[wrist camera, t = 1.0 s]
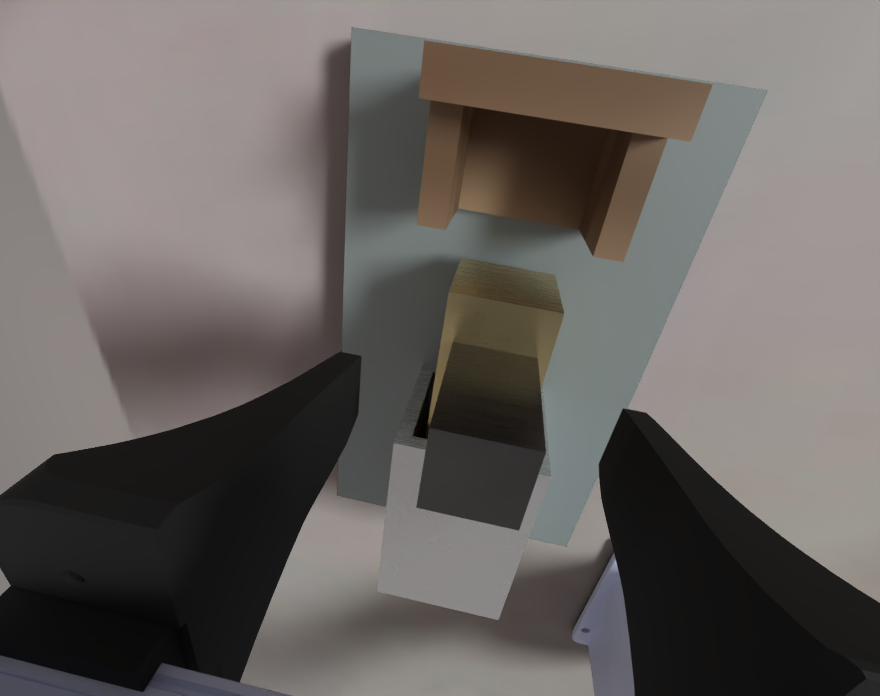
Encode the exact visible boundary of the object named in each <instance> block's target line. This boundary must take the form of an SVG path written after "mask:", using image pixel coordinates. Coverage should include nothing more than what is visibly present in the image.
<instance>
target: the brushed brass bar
mask: <svg viewBox="0 0 880 696" xmlns="http://www.w3.org/2000/svg"><path fill="white" fill-rule="evenodd" d="M563 317H564V310H563V305H562V301H561V297H560V293H559V288H558V284H557V280H556V276H555V275H553V274H547V273H542V272H536V271H531V270H525V269H520V268H515V267H509V266H504V265H498V264H493V263H487V262H482V261H477V260H471V259H466V258H461V260H460V263H459V266H458V268H457V271H456V274H455V276H454V279H453V282H452V284H451V287H450V290H449V293H448V300H447V306H446V312H445V318H444V325H443V331H442V337H441V343H440V350H439V356H438V362H437V368H436V375H435V381H434V387H433V393H432V400H431V406H430V412H429V418H428V425H427V431H426V437H425V439H427V445H426V451H425V457H424V463H423V469H422V476H421V482H420V488H419V494H418V500H417V506H416V508H420V509H424V510H429V511H433V512H437V513H442V514H446V515H451V516H455V517H460V518H464V519H469V520H473V521H478V522H482V523H487V524H491V525H496V526H500V527H505V528H509V529H514V530H518V531H519V529H520V526H521V524H522V521H523V518H524V515H525V512H526V509H527V506H528V503H529V501H530V498H531V495H532V492H533V489H534V486H535V483H536V480H537V477H538V475H539V472H540V469H541V466H542V463H543V460H544V457H545V454H546V445H545V434H544V422H543V411H542V399H541V388H542V385H543V382H544V378H545V375H546V372H547V369H548V365H549V362H550V359H551V356H552V352H553V349H554V346H555V343H556V340H557V336H558V333H559V330H560V327H561V323H562V320H563Z"/></svg>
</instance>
